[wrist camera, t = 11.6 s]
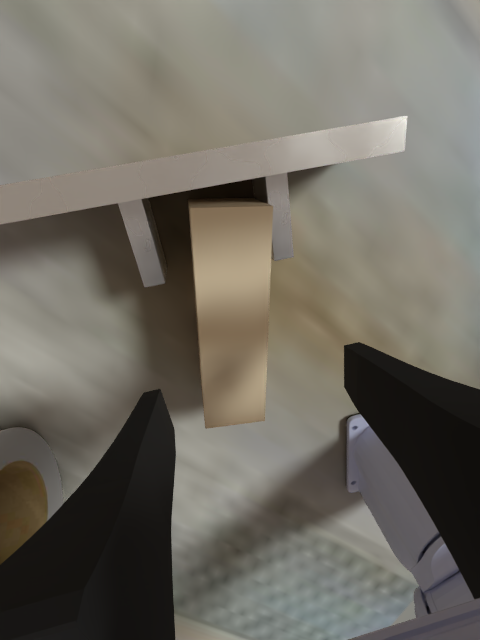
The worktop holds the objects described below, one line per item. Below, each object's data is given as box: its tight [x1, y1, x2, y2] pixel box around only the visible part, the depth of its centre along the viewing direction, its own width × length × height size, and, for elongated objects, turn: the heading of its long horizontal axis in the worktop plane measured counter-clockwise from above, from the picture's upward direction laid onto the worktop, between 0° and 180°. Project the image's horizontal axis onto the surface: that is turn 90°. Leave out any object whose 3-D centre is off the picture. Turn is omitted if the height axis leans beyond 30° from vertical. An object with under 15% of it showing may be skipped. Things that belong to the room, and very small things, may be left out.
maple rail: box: [188, 198, 273, 428], centre depth 18 cm, size 12×4×4 cm, turn 0°
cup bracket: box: [0, 116, 407, 287], centre depth 15 cm, size 16×5×5 cm, turn 99°
